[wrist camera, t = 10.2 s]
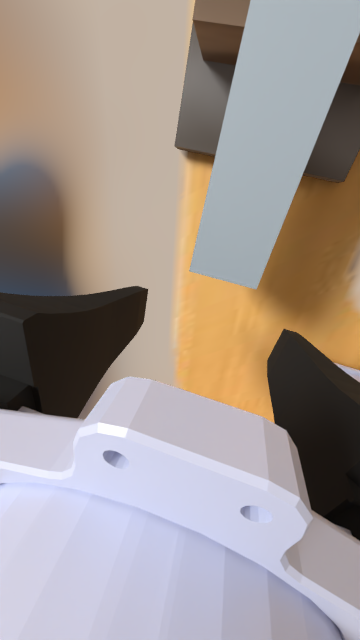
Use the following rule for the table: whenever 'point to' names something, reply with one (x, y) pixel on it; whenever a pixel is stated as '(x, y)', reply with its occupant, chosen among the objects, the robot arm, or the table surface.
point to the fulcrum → (216, 79)
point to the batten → (271, 129)
